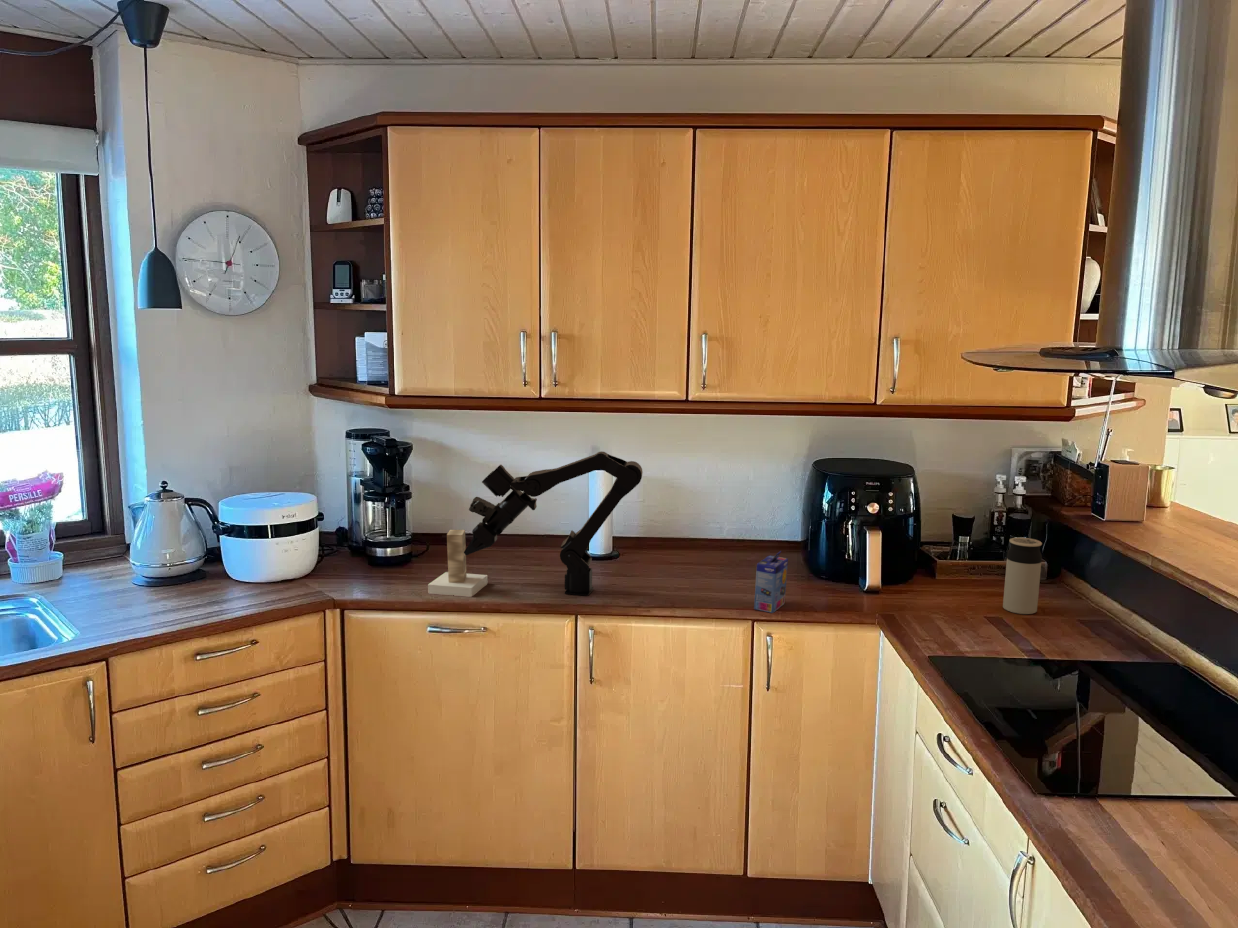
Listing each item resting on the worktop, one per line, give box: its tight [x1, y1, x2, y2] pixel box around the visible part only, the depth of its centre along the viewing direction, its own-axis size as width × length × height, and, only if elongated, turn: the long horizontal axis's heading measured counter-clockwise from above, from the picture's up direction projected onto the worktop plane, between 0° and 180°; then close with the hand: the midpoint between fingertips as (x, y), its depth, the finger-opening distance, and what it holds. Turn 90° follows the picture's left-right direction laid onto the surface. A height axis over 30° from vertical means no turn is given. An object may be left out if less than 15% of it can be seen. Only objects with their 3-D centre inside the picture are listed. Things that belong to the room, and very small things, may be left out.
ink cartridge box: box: [753, 550, 789, 614], centre depth 232 cm, size 10×6×14 cm, turn 152°
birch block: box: [446, 529, 467, 582], centre depth 243 cm, size 4×5×13 cm
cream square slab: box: [427, 571, 489, 598], centre depth 245 cm, size 12×12×3 cm
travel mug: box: [1002, 537, 1043, 615], centre depth 231 cm, size 8×8×18 cm
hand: (468, 549), depth 243 cm, fingers open, 9 cm apart
